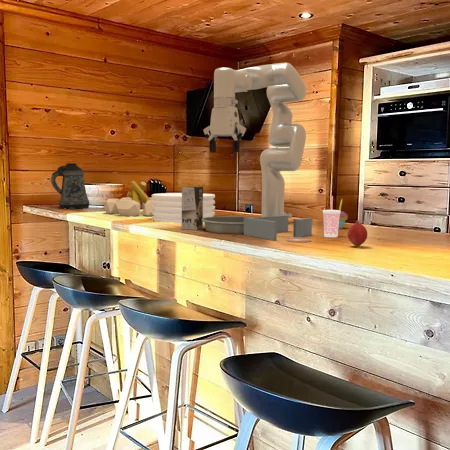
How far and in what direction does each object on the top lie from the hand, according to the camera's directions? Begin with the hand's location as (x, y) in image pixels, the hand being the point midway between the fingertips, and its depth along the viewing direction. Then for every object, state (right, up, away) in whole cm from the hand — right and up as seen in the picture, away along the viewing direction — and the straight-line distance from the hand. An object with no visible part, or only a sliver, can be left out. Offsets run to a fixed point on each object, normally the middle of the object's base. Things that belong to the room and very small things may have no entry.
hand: (224, 152), depth 187 cm
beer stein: (-85, -17, +102) cm, 134 cm away
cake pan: (+4, -29, +8) cm, 30 cm away
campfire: (-42, -21, +74) cm, 88 cm away
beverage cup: (+37, -31, -8) cm, 49 cm away
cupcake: (+44, -28, +18) cm, 55 cm away
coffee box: (-12, -28, +11) cm, 32 cm away
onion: (+40, -33, -32) cm, 61 cm away
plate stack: (-18, -24, +46) cm, 55 cm away
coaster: (+24, -31, -20) cm, 44 cm away
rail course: (+19, -30, -8) cm, 37 cm away
